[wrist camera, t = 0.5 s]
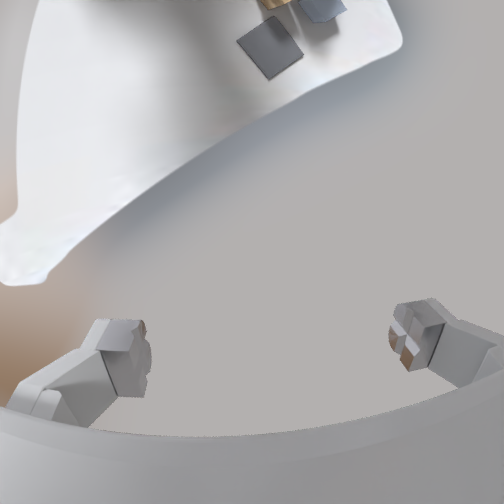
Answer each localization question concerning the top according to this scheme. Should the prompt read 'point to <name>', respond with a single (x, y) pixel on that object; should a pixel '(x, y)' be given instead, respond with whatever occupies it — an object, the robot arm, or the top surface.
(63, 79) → the top surface
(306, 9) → the blue-grey cube
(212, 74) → the top surface
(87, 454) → the robot arm
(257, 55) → the charcoal mat
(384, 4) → the top surface
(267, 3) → the oak block
